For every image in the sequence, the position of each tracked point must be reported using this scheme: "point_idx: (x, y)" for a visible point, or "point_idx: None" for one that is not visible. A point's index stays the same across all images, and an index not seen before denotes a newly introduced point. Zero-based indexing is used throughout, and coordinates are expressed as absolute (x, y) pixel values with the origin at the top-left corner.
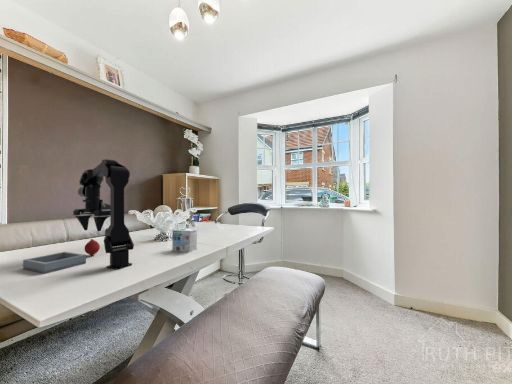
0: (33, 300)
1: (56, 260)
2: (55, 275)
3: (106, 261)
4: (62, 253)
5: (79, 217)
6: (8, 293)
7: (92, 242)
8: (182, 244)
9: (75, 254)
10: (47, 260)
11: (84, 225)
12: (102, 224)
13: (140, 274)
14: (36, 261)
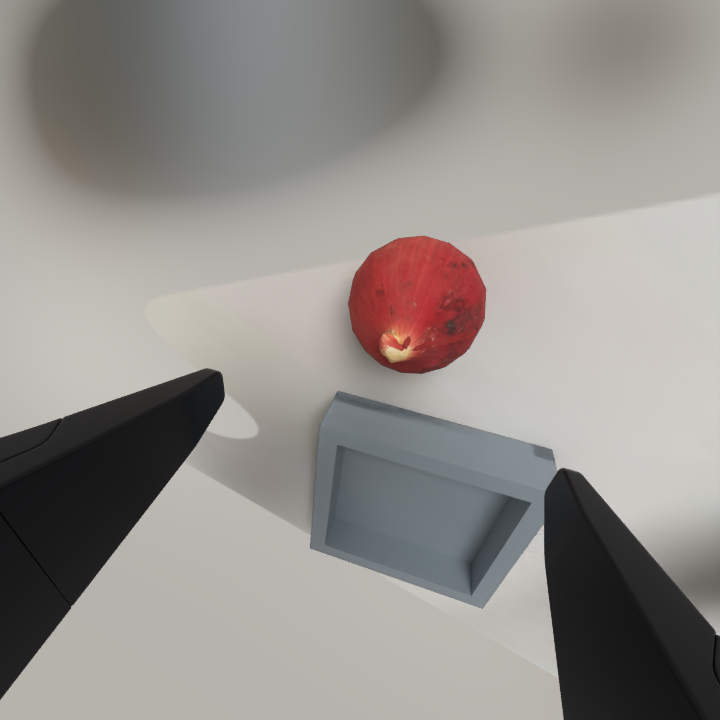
0: None
1: (358, 454)
2: None
3: (700, 415)
4: (338, 446)
5: (6, 688)
6: (545, 665)
7: (437, 361)
8: None
9: (467, 482)
10: (338, 478)
11: (166, 464)
12: (694, 630)
13: None
14: (398, 574)
